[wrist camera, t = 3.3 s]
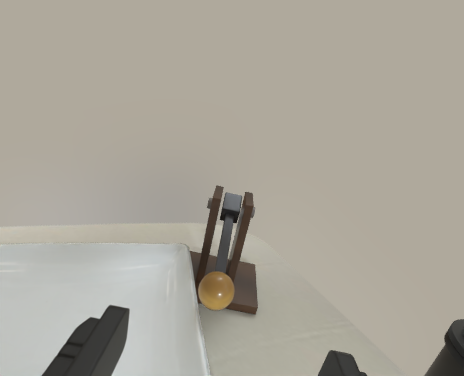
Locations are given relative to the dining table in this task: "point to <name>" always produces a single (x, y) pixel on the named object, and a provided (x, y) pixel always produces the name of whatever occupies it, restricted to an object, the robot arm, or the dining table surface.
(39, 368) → the square plate
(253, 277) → the latch bracket
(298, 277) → the dining table surface
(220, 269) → the lever
